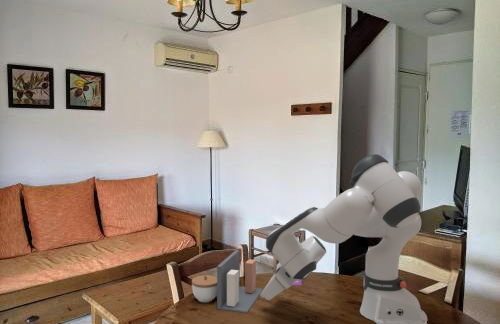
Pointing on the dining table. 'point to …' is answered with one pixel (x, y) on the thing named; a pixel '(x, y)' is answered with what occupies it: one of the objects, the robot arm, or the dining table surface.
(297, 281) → the bracket
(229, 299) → the white rectangular block
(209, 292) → the lidded jar
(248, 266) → the salmon pink block
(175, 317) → the dining table surface
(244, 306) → the gray bookend
